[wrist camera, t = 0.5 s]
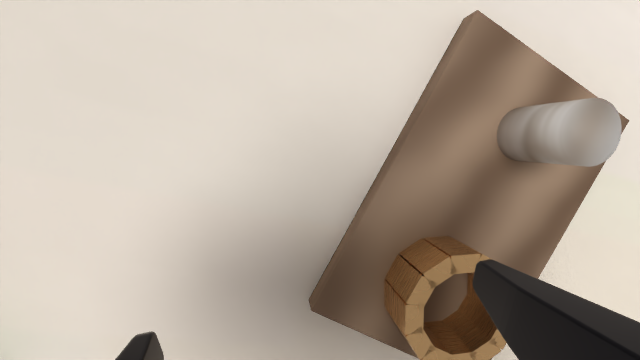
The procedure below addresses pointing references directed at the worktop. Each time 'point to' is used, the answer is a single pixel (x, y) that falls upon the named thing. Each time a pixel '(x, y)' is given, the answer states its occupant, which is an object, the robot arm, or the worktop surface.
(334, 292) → the post board
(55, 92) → the worktop surface
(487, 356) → the wooden ring
